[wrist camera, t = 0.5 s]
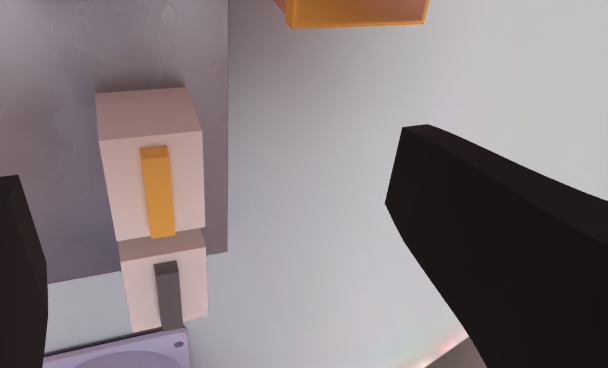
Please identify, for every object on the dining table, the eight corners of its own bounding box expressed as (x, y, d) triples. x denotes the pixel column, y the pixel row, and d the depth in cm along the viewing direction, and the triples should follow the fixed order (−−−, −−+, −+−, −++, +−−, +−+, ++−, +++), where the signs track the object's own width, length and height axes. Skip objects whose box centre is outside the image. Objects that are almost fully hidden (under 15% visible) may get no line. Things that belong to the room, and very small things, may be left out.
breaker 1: (190, 177, 20) (208, 238, 17) (111, 187, 19) (117, 253, 16) (186, 87, 18) (206, 141, 15) (94, 93, 17) (99, 152, 14)
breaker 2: (195, 265, 23) (211, 327, 20) (126, 277, 22) (134, 345, 19) (191, 197, 21) (209, 258, 18) (114, 208, 20) (121, 274, 17)
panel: (221, 234, 24) (230, 260, 23) (-133, 294, 20) (-148, 331, 18) (220, -27, 17) (232, -11, 16) (-341, -28, 12) (-389, -5, 11)
